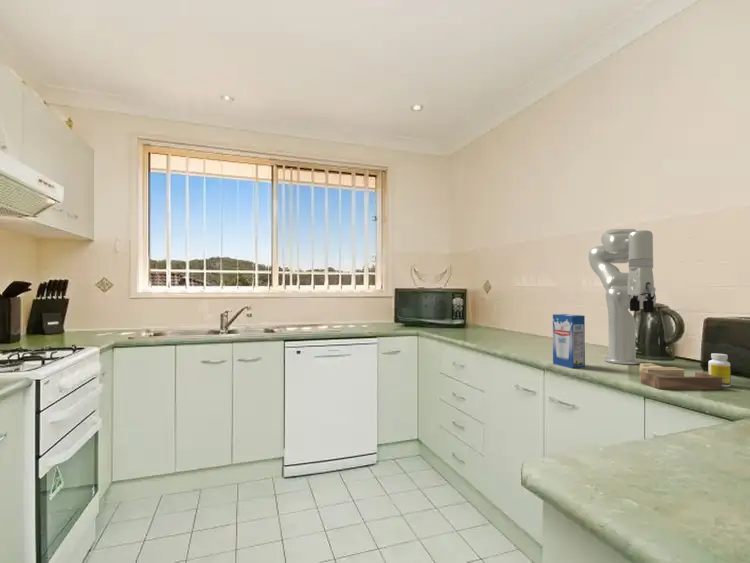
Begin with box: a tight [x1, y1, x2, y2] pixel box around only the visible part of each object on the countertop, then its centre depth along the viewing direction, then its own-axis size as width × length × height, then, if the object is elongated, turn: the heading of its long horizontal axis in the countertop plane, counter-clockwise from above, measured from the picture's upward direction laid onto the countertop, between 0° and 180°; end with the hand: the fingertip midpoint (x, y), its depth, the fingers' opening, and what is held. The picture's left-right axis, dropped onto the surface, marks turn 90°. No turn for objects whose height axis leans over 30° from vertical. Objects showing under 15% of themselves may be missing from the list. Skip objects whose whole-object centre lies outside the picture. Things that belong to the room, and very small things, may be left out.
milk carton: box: [552, 313, 586, 369], centre depth 159 cm, size 10×6×20 cm, turn 20°
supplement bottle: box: [707, 352, 732, 388], centre depth 127 cm, size 5×5×10 cm
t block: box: [639, 362, 685, 380], centre depth 137 cm, size 10×12×4 cm
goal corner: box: [640, 371, 723, 390], centre depth 126 cm, size 8×19×4 cm, turn 90°
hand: (641, 311), depth 147 cm, fingers open, 9 cm apart
